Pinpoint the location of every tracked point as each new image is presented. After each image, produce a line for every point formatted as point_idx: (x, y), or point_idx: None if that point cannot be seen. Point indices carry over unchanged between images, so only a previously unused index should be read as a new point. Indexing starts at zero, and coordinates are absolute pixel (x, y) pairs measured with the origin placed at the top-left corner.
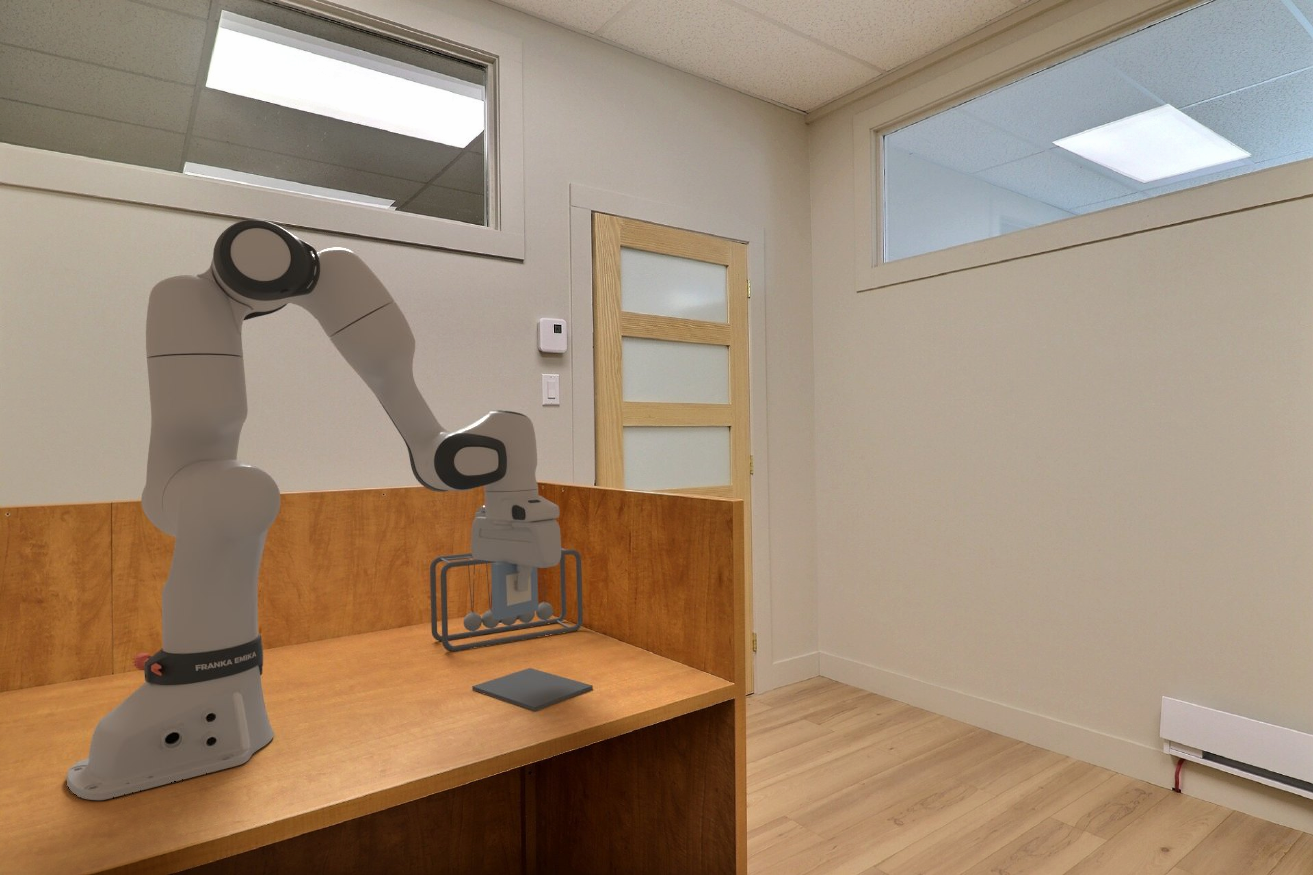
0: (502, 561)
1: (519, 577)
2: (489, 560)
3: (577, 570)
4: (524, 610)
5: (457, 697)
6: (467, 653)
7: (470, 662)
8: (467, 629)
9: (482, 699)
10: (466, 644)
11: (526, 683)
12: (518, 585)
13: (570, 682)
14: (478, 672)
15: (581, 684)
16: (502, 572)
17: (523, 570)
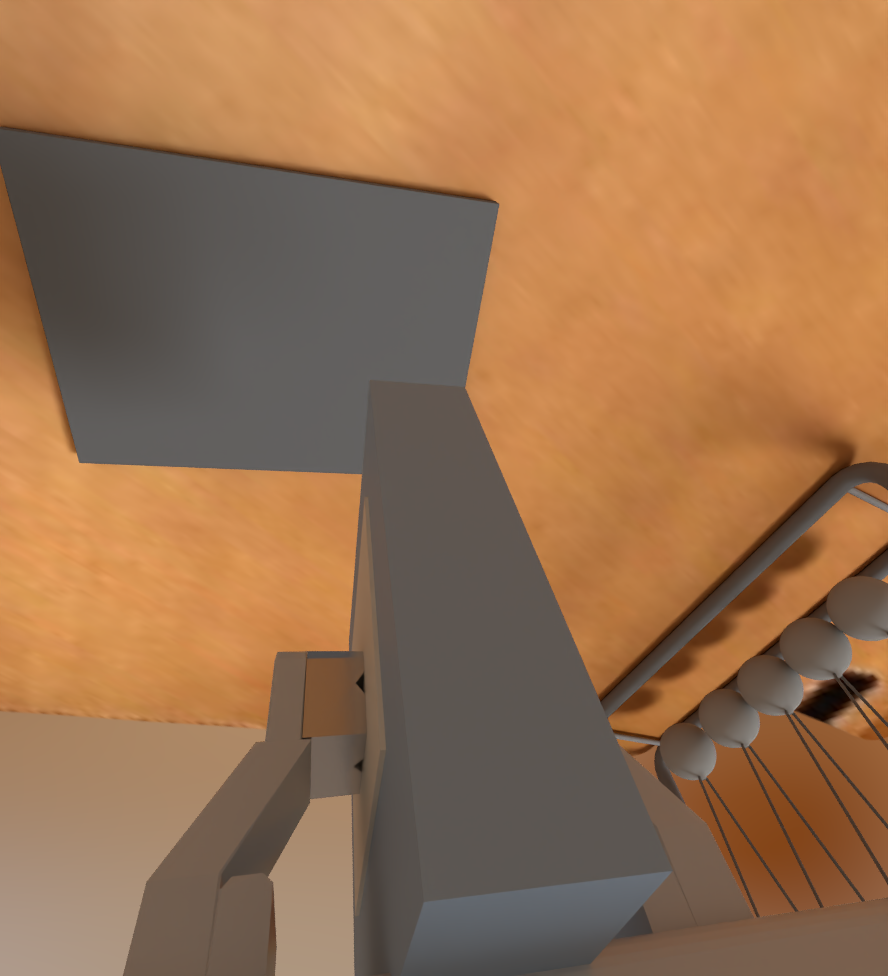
0: (572, 972)
1: (249, 788)
2: (862, 910)
3: None
4: (356, 578)
5: (487, 81)
6: (776, 485)
7: (713, 431)
8: (860, 576)
9: (359, 126)
10: (811, 518)
11: (316, 352)
12: (289, 697)
13: (181, 445)
14: (617, 373)
15: (124, 450)
16: (399, 768)
17: (146, 912)
